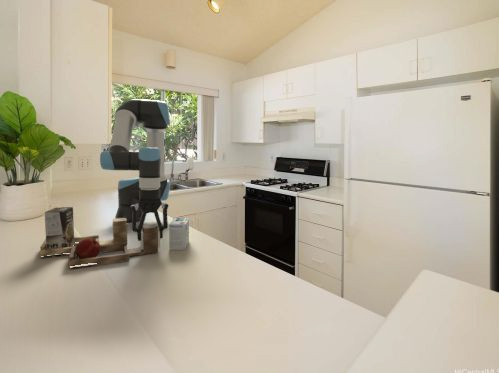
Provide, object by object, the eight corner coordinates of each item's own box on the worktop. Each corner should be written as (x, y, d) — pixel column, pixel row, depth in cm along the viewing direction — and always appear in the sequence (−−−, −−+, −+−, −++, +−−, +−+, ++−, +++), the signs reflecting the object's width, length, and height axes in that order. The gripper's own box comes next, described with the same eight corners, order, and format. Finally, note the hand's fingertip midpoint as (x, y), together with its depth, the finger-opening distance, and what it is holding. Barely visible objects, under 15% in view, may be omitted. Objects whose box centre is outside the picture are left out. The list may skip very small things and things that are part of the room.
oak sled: (40, 257, 98) (38, 230, 97) (47, 245, 110) (45, 221, 109) (128, 247, 111) (127, 223, 110) (125, 237, 123) (125, 215, 122)
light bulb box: (173, 241, 122) (173, 217, 120) (189, 241, 122) (189, 217, 121) (168, 250, 111) (168, 223, 110) (185, 250, 112) (186, 224, 110)
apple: (92, 265, 95) (91, 242, 94) (70, 264, 95) (68, 241, 94) (104, 256, 102) (103, 235, 101) (83, 255, 102) (82, 234, 101)
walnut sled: (69, 268, 90) (67, 239, 89) (73, 254, 102) (71, 228, 101) (159, 256, 104) (159, 230, 102) (154, 244, 115) (153, 221, 114)
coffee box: (65, 254, 103) (63, 211, 101) (46, 255, 101) (43, 211, 99) (75, 246, 112) (73, 206, 110) (57, 246, 110) (55, 206, 108)
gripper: (172, 186, 113) (172, 241, 116) (122, 187, 104) (123, 247, 107) (176, 189, 106) (176, 247, 109) (123, 190, 98) (125, 254, 101)
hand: (150, 247), depth 108 cm, fingers open, 5 cm apart
